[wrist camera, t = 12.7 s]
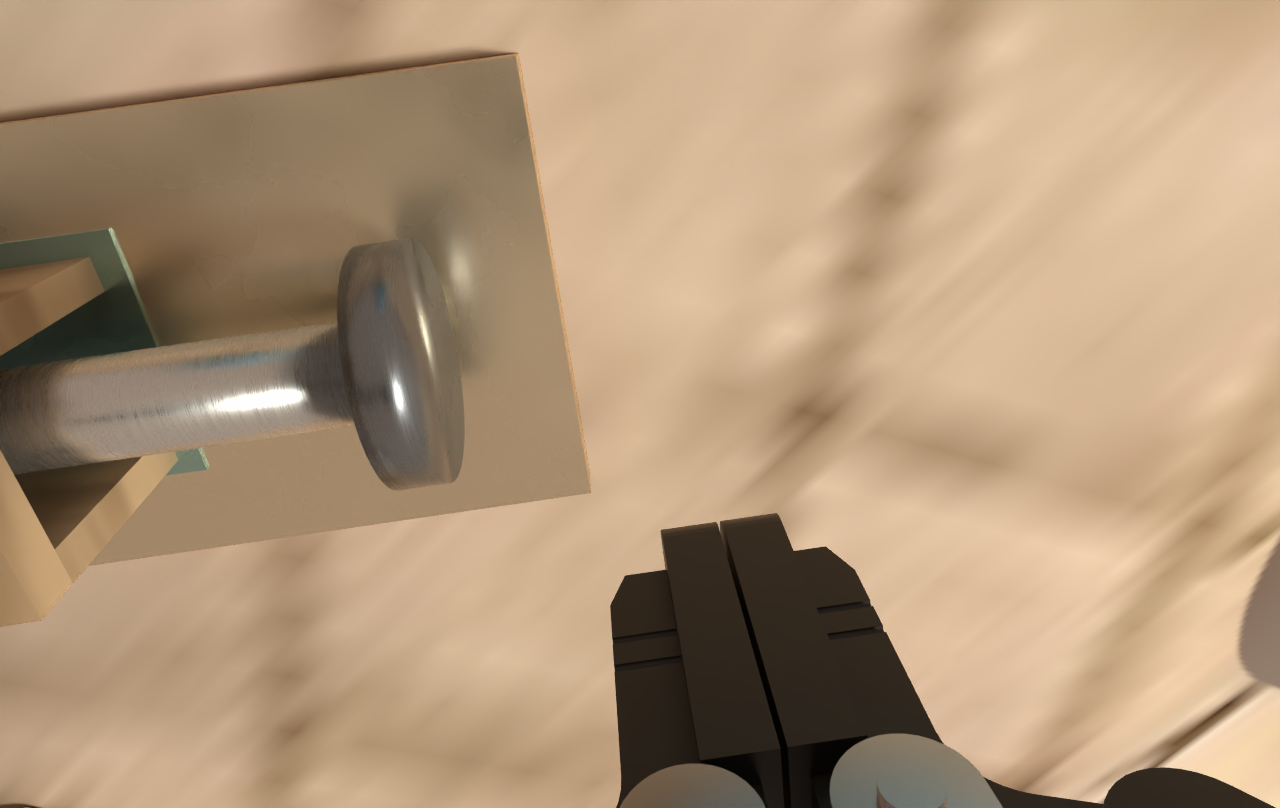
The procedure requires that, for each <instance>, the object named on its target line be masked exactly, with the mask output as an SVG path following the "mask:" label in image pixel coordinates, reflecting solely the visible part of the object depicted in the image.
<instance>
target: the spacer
mask: <svg viewBox="0 0 1280 808" xmlns="http://www.w3.org/2000/svg"><path fill="white" fill-rule="evenodd" d="M103 292H105V291H104V288H103V286H102V284H101V282H100V279H99V277H98V275H97V272H96V270H95V268H94V266H93V263H92V261H91V259H90V256H89V257H82V258H75V259H69V260H62V261H55V262H48V263H41V264H35V265H28V266H21V267H14V268H7V269H1V270H0V356H1V355H3V354H4V353H6V352H7V351H9V350H11V349H12V348H14V347H16V346H17V345H19V344H20V343H22V342H24V341H25V340H27V339H28V338H30V337H32V336H33V335H35V334H37V333H38V332H40V331H41V330H43V329H45V328H46V327H48V326H49V325H51V324H53V323H54V322H56V321H58V320H59V319H61V318H62V317H64V316H66V315H67V314H69V313H71V312H72V311H74V310H75V309H77V308H79V307H80V306H82V305H83V304H85V303H87V302H88V301H90V300H92V299H93V298H95V297H96V296H98V295H100V294H101V293H103ZM177 461H178V458H177V456H176V453H175V452H169V453H162V454H155V455H148V456H141V457H134V458H127V459H120V460H113V461H105V462H98V463H91V464H84V465H77V466H70V467H63V468H56V469H49V470H42V471H35V472H28V473H21V474H13V472H12V470H11V468H10V467H9V465H8V463H7V461H6V459H5V457H4V456H3V454H2V452H1V450H0V627H2V626H8V625H15V624H21V623H28V622H34V621H41V620H42V619H43V618H44V617H45V615H46V614H47V613H48V612H49V611H50V610H51V608H52V607H53V606H54V605H55V604H56V603H57V601H58V600H59V599H60V598H61V597H62V596H63V594H64V593H65V592H66V591H67V590H68V589H69V587H70V586H71V585H72V584H73V583H74V582H75V580H76V579H77V578H78V577H79V576H80V575H81V573H82V572H83V571H84V570H85V569H86V568H87V566H88V565H89V564H90V563H91V562H92V561H93V559H94V558H95V557H96V556H97V555H98V554H99V552H100V551H101V550H102V549H103V548H104V546H105V545H106V544H107V543H108V542H109V541H110V539H111V538H112V537H113V536H114V535H115V534H116V532H117V531H118V530H119V529H120V528H121V527H122V525H123V524H124V523H125V522H126V521H127V520H128V518H129V517H130V516H131V515H132V514H133V513H134V511H135V510H136V509H137V508H138V507H139V506H140V504H141V503H142V502H143V501H144V500H145V499H146V497H147V496H148V495H149V494H150V493H151V492H152V490H153V489H154V488H155V487H156V486H157V485H158V483H159V482H160V481H161V480H162V479H163V477H164V476H165V475H166V474H167V473H168V472H169V470H170V469H171V468H172V467H173V466H174V465H175V463H176V462H177Z"/></svg>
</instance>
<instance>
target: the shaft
mask: <svg viewBox="0 0 1280 808" xmlns="http://www.w3.org/2000/svg"><path fill="white" fill-rule="evenodd" d="M351 426H355V427H356V430H357V433H358V436H359V439H360V442H361V444H362V447H363V449H364V452H365V454H366V456H367V458H368V460H369V462H370V464H371V466H372V468H373V470H374V471H375V473H376V475H377V476H378V477H379V479H380V480H381V481H382V482H383V483H384V484H385V485H386V486H387V487H388V488H390V489H392V490H396V491H400V490H407V489H414V488H421V487H427V486H434V485H441V484H448V483H452V482H454V481H455V480H456V479H457V477H458V475H459V473H460V470H461V466H462V460H463V453H464V436H465V424H464V403H463V391H462V382H461V373H460V366H459V360H458V354H457V348H456V342H455V337H454V332H453V328H452V323H451V319H450V315H449V311H448V307H447V303H446V300H445V296H444V293H443V290H442V287H441V283H440V281H439V278H438V275H437V272H436V270H435V268H434V265H433V263H432V261H431V259H430V257H429V255H428V253H427V251H426V250H425V248H424V247H423V245H422V244H421V243H420V242H419V241H418V240H416V239H414V238H408V239H400V240H393V241H386V242H379V243H371V244H364V245H358V246H354V247H352V248H351V249H350V250H349V251H348V253H347V254H346V256H345V258H344V261H343V263H342V267H341V271H340V276H339V283H338V295H337V322H332V323H325V324H318V325H311V326H304V327H296V328H289V329H282V330H275V331H268V332H261V333H254V334H246V335H239V336H232V337H225V338H218V339H211V340H204V341H197V342H189V343H182V344H175V345H168V346H161V347H154V348H147V349H139V350H132V351H125V352H118V353H111V354H104V355H97V356H89V357H82V358H75V359H68V360H61V361H54V362H47V363H40V364H32V365H25V366H18V367H11V368H4V369H0V450H1V452H2V454H3V456H4V457H5V459H6V461H7V463H8V465H9V467H10V468H11V470H12V472H13V474H21V473H28V472H35V471H42V470H49V469H56V468H63V467H70V466H77V465H84V464H91V463H98V462H105V461H113V460H120V459H127V458H134V457H141V456H148V455H155V454H162V453H169V452H176V451H183V450H190V449H197V448H204V447H211V446H218V445H225V444H232V443H239V442H246V441H253V440H260V439H267V438H274V437H281V436H288V435H295V434H302V433H309V432H316V431H323V430H330V429H337V428H344V427H351Z"/></svg>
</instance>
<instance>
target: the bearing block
mask: <svg viewBox="0 0 1280 808" xmlns="http://www.w3.org/2000/svg"><path fill="white" fill-rule="evenodd" d="M408 238H414V239H416V240H418V241H419V242H420V243H421V244H422V245H423V247H424V248H425V250H426V251H427V253H428V255H429V257H430V259H431V261H432V263H433V265H434V268H435V270H436V272H437V275H438V278H439V281H440V283H441V287H442V290H443V293H444V296H445V300H446V303H447V307H448V311H449V315H450V319H451V323H452V328H453V332H454V337H455V342H456V348H457V354H458V360H459V366H460V373H461V382H462V391H463V403H464V424H465V436H464V453H463V460H462V466H461V470H460V473H459V475H458V477H457V479H456V480H455V481H454V482H452V483H448V484H441V485H434V486H427V487H421V488H414V489H407V490H400V491H396V490H392V489H390V488H388V487H387V486H386V485H385V484H384V483H383V482H382V481H381V480H380V479H379V477H378V476H377V475H376V473H375V471H374V470H373V468H372V466H371V464H370V462H369V460H368V458H367V456H366V454H365V452H364V449H363V447H362V444H361V442H360V439H359V436H358V433H357V430H356V427H355V426H351V427H344V428H337V429H330V430H323V431H316V432H309V433H302V434H295V435H288V436H281V437H274V438H267V439H260V440H253V441H246V442H239V443H232V444H225V445H218V446H211V447H204V448H197V449H190V450H183V451H176V452H175V453H176V456H177V458H178V461H177V462H176V463H175V465H174V466H173V467H172V468H171V469H170V470H169V472H168V473H167V474H166V475H165V476H164V477H163V479H162V480H161V481H160V482H159V483H158V485H157V486H156V487H155V488H154V489H153V490H152V492H151V493H150V494H149V495H148V496H147V497H146V499H145V500H144V501H143V502H142V503H141V504H140V506H139V507H138V508H137V509H136V510H135V511H134V513H133V514H132V515H131V516H130V517H129V518H128V520H127V521H126V522H125V523H124V524H123V525H122V527H121V528H120V529H119V530H118V531H117V532H116V534H115V535H114V536H113V537H112V538H111V539H110V541H109V542H108V543H107V544H106V545H105V546H104V548H103V549H102V550H101V551H100V552H99V554H98V555H97V556H96V557H95V558H94V559H93V561H92V562H91V563H90V564H89V565H88V566H90V565H97V564H104V563H111V562H118V561H125V560H132V559H139V558H146V557H152V556H159V555H166V554H173V553H180V552H187V551H194V550H201V549H208V548H215V547H221V546H228V545H235V544H242V543H249V542H256V541H263V540H270V539H277V538H283V537H290V536H297V535H304V534H311V533H318V532H325V531H332V530H339V529H346V528H352V527H359V526H366V525H373V524H380V523H387V522H394V521H401V520H408V519H414V518H421V517H428V516H435V515H442V514H449V513H456V512H463V511H470V510H477V509H483V508H490V507H497V506H504V505H511V504H518V503H525V502H532V501H539V500H545V499H552V498H559V497H566V496H573V495H580V494H587V493H591V484H590V470H589V464H588V458H587V452H586V446H585V441H584V435H583V429H582V423H581V417H580V411H579V405H578V399H577V394H576V388H575V382H574V376H573V370H572V364H571V358H570V353H569V347H568V341H567V335H566V329H565V323H564V317H563V312H562V306H561V300H560V294H559V288H558V282H557V276H556V270H555V265H554V259H553V253H552V247H551V241H550V235H549V229H548V224H547V218H546V212H545V206H544V200H543V194H542V188H541V182H540V177H539V171H538V165H537V159H536V153H535V147H534V141H533V136H532V130H531V124H530V118H529V112H528V106H527V100H526V95H525V89H524V83H523V77H522V71H521V65H520V59H519V53H515V54H508V55H500V56H493V57H485V58H478V59H470V60H463V61H456V62H448V63H441V64H433V65H426V66H418V67H411V68H403V69H396V70H389V71H381V72H374V73H366V74H359V75H351V76H344V77H336V78H329V79H322V80H314V81H307V82H299V83H292V84H284V85H277V86H270V87H262V88H255V89H247V90H240V91H232V92H225V93H217V94H210V95H203V96H195V97H188V98H180V99H173V100H165V101H158V102H150V103H143V104H136V105H128V106H121V107H113V108H106V109H98V110H91V111H83V112H76V113H69V114H61V115H54V116H46V117H39V118H31V119H24V120H17V121H9V122H2V123H0V270H1V269H7V268H14V267H21V266H28V265H35V264H41V263H48V262H55V261H62V260H69V259H75V258H82V257H89V256H90V259H91V261H92V263H93V266H94V268H95V270H96V272H97V275H98V277H99V279H100V282H101V284H102V286H103V288H104V291H105V292H103V293H101V294H100V295H98V296H96V297H95V298H93V299H92V300H90V301H88V302H87V303H85V304H83V305H82V306H80V307H79V308H77V309H75V310H74V311H72V312H71V313H69V314H67V315H66V316H64V317H62V318H61V319H59V320H58V321H56V322H54V323H53V324H51V325H49V326H48V327H46V328H45V329H43V330H41V331H40V332H38V333H37V334H35V335H33V336H32V337H30V338H28V339H27V340H25V341H24V342H22V343H20V344H19V345H17V346H16V347H14V348H12V349H11V350H9V351H7V352H6V353H4V354H3V355H1V356H0V369H4V368H11V367H18V366H25V365H32V364H40V363H47V362H54V361H61V360H68V359H75V358H82V357H89V356H97V355H104V354H111V353H118V352H125V351H132V350H139V349H147V348H154V347H161V346H168V345H175V344H182V343H189V342H197V341H204V340H211V339H218V338H225V337H232V336H239V335H246V334H254V333H261V332H268V331H275V330H282V329H289V328H296V327H304V326H311V325H318V324H325V323H332V322H337V295H338V283H339V276H340V271H341V267H342V263H343V261H344V258H345V256H346V254H347V253H348V251H349V250H350V249H351V248H352V247H354V246H358V245H364V244H371V243H379V242H386V241H393V240H400V239H408Z"/></svg>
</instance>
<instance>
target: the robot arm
mask: <svg viewBox="0 0 1280 808" xmlns="http://www.w3.org/2000/svg"><path fill="white" fill-rule="evenodd" d="M661 538H662V546H663V554H664V561H665V569H666V570H661V571H654V572H647V573H640V574H634V575H627V576H625V577H624V579H623V581H622V583H621V585H620V587H619V589H618V591H617V593H616V595H615V597H614V599H613V601H612V603H611V605H610V608H611V623H612V638H613V655H614V667H615V686H616V701H617V717H618V732H619V748H620V763H621V792H620V797H619V802H618V805H617V807H616V808H1275V807H1273V806H1271V805H1269V804H1267V803H1265V802H1263V801H1261V800H1259V799H1257V798H1255V797H1253V796H1251V795H1249V794H1247V793H1245V792H1243V791H1241V790H1239V789H1237V788H1235V787H1233V786H1231V785H1229V784H1226V783H1224V782H1222V781H1220V780H1217V779H1215V778H1212V777H1209V776H1206V775H1203V774H1200V773H1197V772H1192V771H1187V770H1183V769H1175V768H1148V769H1143V770H1138V771H1135V772H1133V773H1130V774H1128V775H1125V776H1124V777H1123V778H1121V779H1120V780H1118V781H1117V782H1116V783H1115V784H1114V785H1113V786H1112V787H1111V789H1110V790H1109V791H1108V794H1107V796H1106V798H1105V800H1104V804H1099V803H1092V802H1085V801H1078V800H1071V799H1064V798H1057V797H1050V796H1043V795H1036V794H1031V793H1026V792H1021V791H1017V790H1014V789H1011V788H1008V787H1005V786H1002V785H1000V784H997V783H995V782H993V781H991V780H988V779H986V778H985V777H983V776H982V775H981V773H980V772H979V771H978V770H977V769H976V768H975V767H974V766H973V765H972V764H971V763H970V762H969V761H968V760H967V759H966V758H965V757H963V756H962V755H961V754H959V753H958V752H957V751H955V750H953V749H951V748H950V747H948V746H946V745H944V744H943V742H942V741H941V739H940V738H939V736H938V734H937V733H936V731H935V729H934V727H933V725H932V723H931V721H930V719H929V717H928V715H927V713H926V711H925V709H924V707H923V705H922V703H921V701H920V699H919V697H918V695H917V693H916V691H915V689H914V687H913V685H912V683H911V681H910V679H909V677H908V675H907V673H906V671H905V669H904V667H903V665H902V663H901V661H900V659H899V657H898V655H897V653H896V651H895V649H894V647H893V645H892V643H891V641H890V639H889V637H888V635H887V633H886V632H884V631H883V625H882V623H881V621H880V619H879V617H878V615H877V613H876V611H875V609H874V607H873V606H871V604H870V599H869V597H868V595H867V593H866V591H865V589H864V587H863V585H862V583H861V581H860V579H859V577H858V575H857V573H856V571H855V570H854V569H853V568H852V567H851V566H849V565H848V564H847V563H846V562H844V561H843V560H842V559H841V558H839V557H838V556H837V555H836V554H834V553H833V552H832V551H831V550H829V549H828V548H827V547H819V548H812V549H805V550H798V551H793V549H792V546H791V544H790V541H789V539H788V536H787V534H786V531H785V529H784V526H783V524H782V522H781V519H780V517H779V515H778V514H777V513H774V514H767V515H760V516H753V517H746V518H739V519H732V520H725V521H721V522H720V531H719V527H718V525H717V523H716V522H713V523H706V524H699V525H692V526H685V527H678V528H671V529H664V530H661Z"/></svg>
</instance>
